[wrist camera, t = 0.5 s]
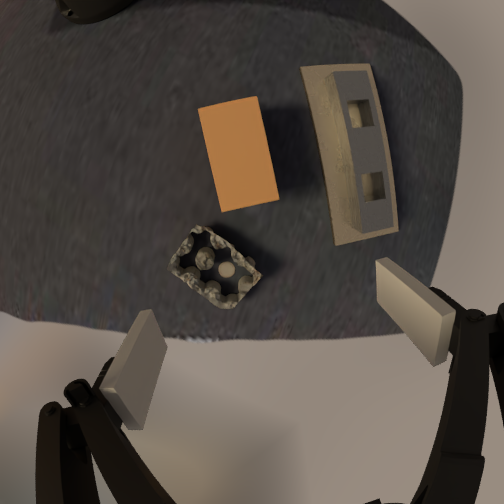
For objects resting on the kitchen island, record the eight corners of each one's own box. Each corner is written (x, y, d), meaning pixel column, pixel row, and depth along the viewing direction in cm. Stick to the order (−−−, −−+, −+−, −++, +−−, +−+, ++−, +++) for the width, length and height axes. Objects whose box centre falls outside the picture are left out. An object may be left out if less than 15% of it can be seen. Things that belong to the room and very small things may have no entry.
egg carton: (264, 265, 39) (268, 277, 35) (229, 304, 41) (228, 318, 37) (202, 215, 37) (198, 222, 33) (168, 258, 38) (161, 269, 34)
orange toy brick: (205, 118, 33) (198, 108, 26) (252, 108, 33) (256, 96, 26) (224, 202, 36) (221, 212, 29) (271, 192, 36) (279, 199, 29)
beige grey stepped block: (299, 68, 31) (306, 58, 27) (367, 65, 31) (380, 56, 27) (333, 244, 38) (344, 253, 34) (395, 229, 38) (411, 237, 34)
